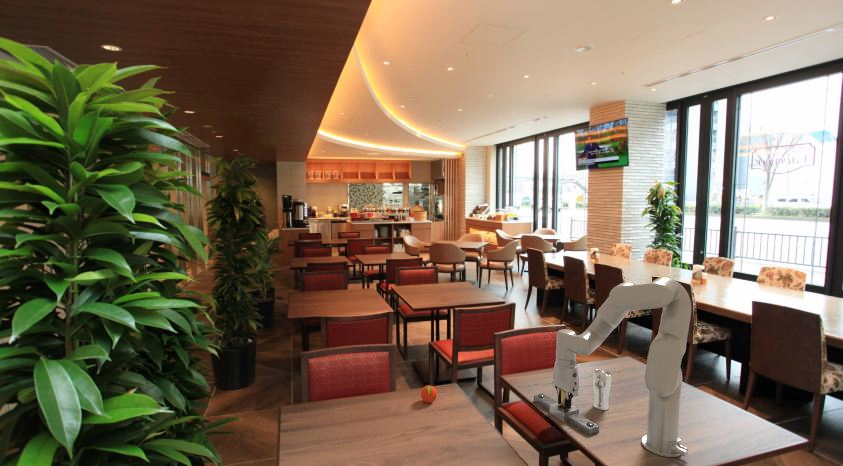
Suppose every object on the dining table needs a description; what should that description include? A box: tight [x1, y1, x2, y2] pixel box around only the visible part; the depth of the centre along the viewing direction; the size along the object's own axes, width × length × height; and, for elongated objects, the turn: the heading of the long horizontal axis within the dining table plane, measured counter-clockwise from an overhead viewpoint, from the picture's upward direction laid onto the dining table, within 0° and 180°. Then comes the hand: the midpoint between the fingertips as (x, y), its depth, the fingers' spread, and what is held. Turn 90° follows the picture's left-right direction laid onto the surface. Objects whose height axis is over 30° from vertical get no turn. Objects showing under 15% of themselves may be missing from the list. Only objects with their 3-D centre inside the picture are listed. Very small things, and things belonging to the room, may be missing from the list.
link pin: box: [560, 388, 568, 410], centre depth 174 cm, size 3×3×9 cm
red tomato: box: [420, 385, 438, 404], centre depth 185 cm, size 8×7×7 cm
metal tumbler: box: [592, 368, 612, 411], centre depth 181 cm, size 7×7×15 cm
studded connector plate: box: [533, 393, 600, 436], centre depth 174 cm, size 30×8×4 cm, turn 27°
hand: (564, 405), depth 174 cm, fingers closed on link pin, 2 cm apart
